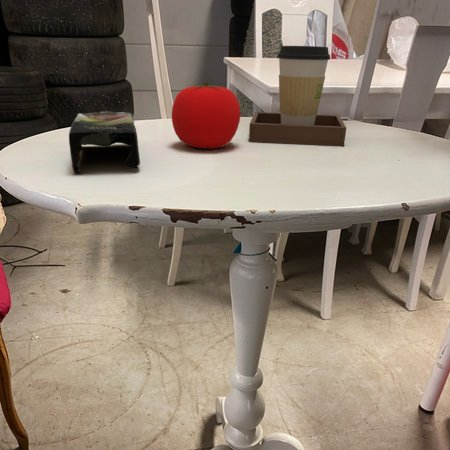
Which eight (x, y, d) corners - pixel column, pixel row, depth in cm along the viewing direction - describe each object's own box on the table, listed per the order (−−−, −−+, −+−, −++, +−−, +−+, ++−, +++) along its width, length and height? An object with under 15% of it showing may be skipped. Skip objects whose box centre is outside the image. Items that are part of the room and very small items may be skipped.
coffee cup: (331, 132, 93) (342, 47, 86) (301, 139, 87) (310, 47, 80) (292, 125, 99) (299, 45, 92) (261, 131, 93) (266, 45, 86)
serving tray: (337, 131, 99) (339, 115, 97) (343, 146, 86) (346, 127, 85) (254, 128, 100) (255, 111, 99) (248, 141, 88) (249, 123, 86)
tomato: (171, 153, 78) (168, 85, 73) (174, 139, 88) (172, 78, 83) (242, 154, 79) (244, 86, 74) (237, 140, 89) (238, 79, 84)
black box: (78, 144, 82) (73, 107, 79) (134, 143, 84) (132, 107, 81) (70, 176, 65) (64, 130, 62) (141, 174, 67) (139, 130, 64)
